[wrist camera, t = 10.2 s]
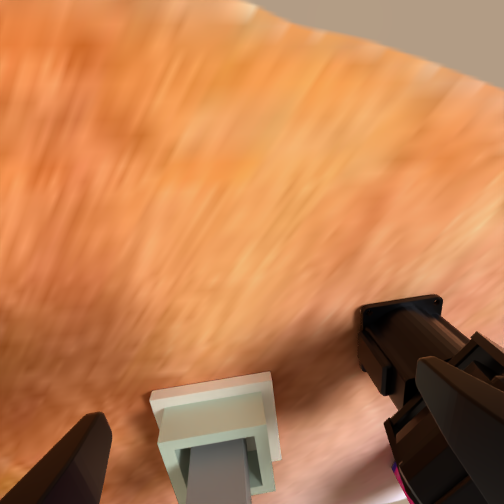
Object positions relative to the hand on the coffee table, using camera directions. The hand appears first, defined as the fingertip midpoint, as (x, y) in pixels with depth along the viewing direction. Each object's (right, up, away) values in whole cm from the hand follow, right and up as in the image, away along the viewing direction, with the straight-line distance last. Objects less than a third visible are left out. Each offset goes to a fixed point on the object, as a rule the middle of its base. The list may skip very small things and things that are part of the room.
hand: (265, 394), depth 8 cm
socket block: (-3, -11, +18) cm, 22 cm away
